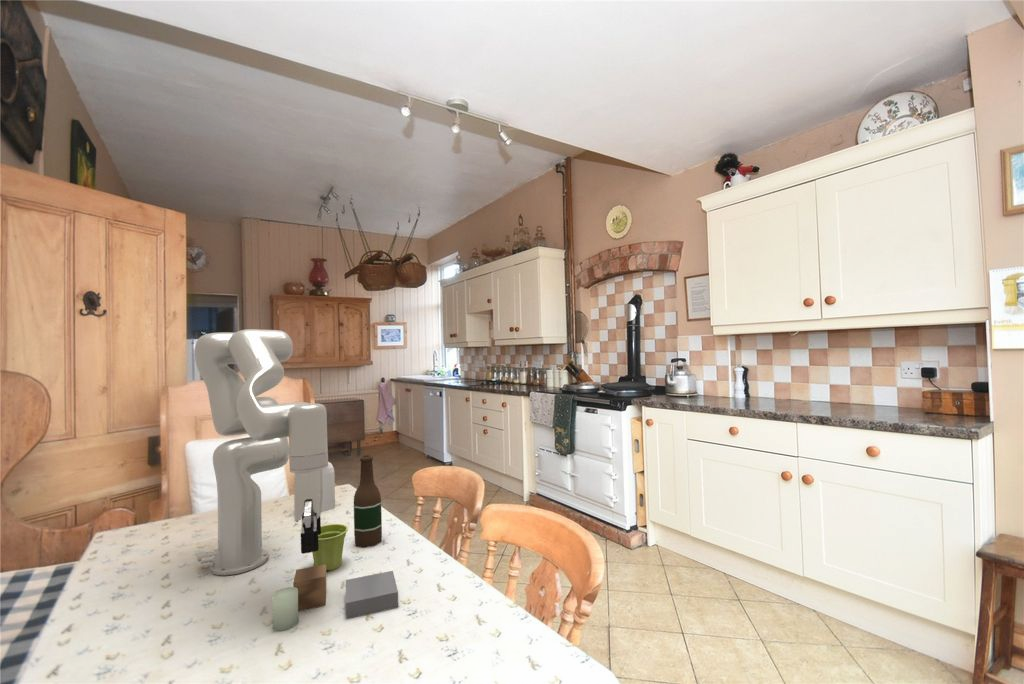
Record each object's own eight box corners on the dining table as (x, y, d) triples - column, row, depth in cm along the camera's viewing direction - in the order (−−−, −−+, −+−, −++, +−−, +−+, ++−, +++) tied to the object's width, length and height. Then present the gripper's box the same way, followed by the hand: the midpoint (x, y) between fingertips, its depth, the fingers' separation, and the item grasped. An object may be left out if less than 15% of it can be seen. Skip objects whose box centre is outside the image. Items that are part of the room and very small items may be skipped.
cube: (293, 612, 90) (293, 582, 90) (296, 598, 95) (296, 569, 96) (325, 605, 92) (325, 576, 92) (326, 591, 98) (326, 564, 98)
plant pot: (356, 561, 112) (356, 526, 112) (327, 578, 103) (326, 541, 104) (329, 555, 116) (329, 521, 116) (298, 571, 107) (298, 535, 108)
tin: (271, 633, 83) (270, 601, 83) (274, 620, 87) (274, 589, 87) (297, 627, 84) (296, 595, 85) (299, 615, 89) (298, 585, 89)
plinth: (346, 618, 87) (346, 603, 87) (346, 593, 96) (345, 579, 96) (398, 606, 90) (398, 591, 91) (393, 584, 100) (392, 570, 100)
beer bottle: (377, 547, 120) (375, 458, 120) (349, 548, 120) (347, 459, 121) (386, 536, 127) (384, 452, 128) (359, 537, 128) (357, 453, 128)
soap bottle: (309, 518, 144) (307, 434, 145) (294, 514, 148) (293, 432, 149) (338, 508, 153) (336, 429, 154) (323, 504, 158) (322, 427, 159)
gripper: (293, 457, 101) (296, 533, 101) (284, 472, 85) (287, 563, 84) (329, 453, 104) (331, 527, 103) (326, 467, 88) (329, 555, 87)
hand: (311, 543), depth 94 cm, fingers open, 9 cm apart
